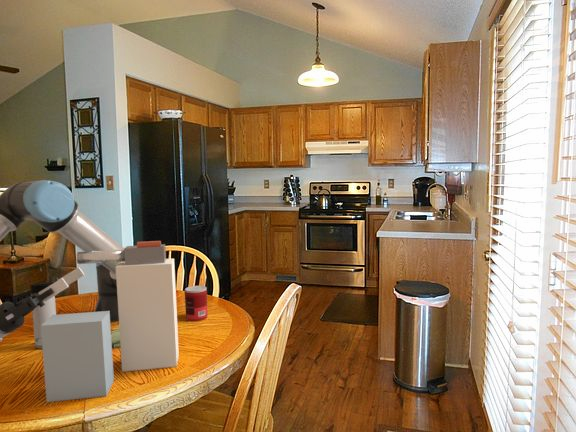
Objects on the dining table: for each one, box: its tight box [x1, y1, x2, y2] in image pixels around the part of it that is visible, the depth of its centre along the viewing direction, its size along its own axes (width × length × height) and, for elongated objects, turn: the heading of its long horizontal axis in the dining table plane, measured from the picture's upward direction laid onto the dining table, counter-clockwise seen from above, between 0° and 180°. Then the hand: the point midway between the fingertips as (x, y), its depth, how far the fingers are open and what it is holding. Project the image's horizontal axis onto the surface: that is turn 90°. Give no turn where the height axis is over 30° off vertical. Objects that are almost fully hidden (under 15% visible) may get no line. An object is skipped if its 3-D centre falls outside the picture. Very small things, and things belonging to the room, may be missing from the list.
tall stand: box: [116, 257, 180, 372], centre depth 120 cm, size 8×14×28 cm, turn 100°
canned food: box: [184, 285, 209, 322], centre depth 159 cm, size 8×8×11 cm
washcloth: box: [111, 328, 121, 349], centre depth 140 cm, size 13×18×3 cm
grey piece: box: [76, 240, 167, 265], centre depth 117 cm, size 4×22×6 cm, turn 100°
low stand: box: [41, 311, 115, 403], centre depth 105 cm, size 8×13×18 cm, turn 100°
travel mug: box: [30, 281, 57, 350], centre depth 135 cm, size 6×7×20 cm
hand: (74, 276), depth 115 cm, fingers open, 13 cm apart
